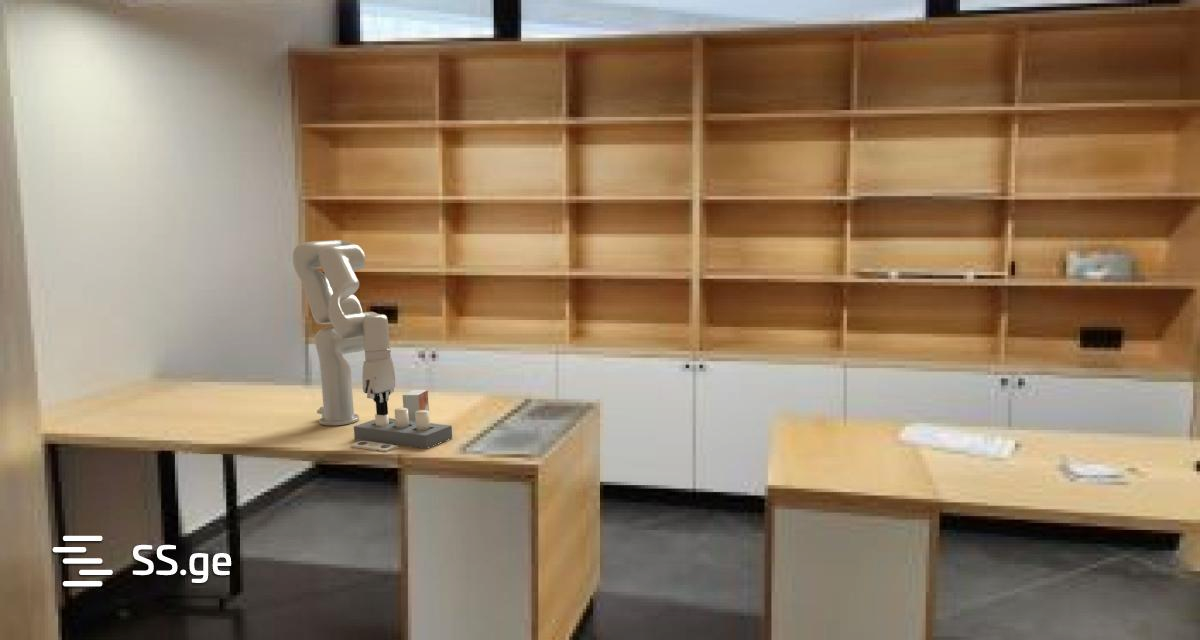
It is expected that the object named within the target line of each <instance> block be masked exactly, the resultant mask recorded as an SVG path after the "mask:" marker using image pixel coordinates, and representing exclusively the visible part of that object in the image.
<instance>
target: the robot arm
mask: <svg viewBox="0 0 1200 640" xmlns="http://www.w3.org/2000/svg"><path fill="white" fill-rule="evenodd" d="M292 263H293V267H294V268H293V269H294V270H295V272H296V275H297V277H298V278H299V281H300V282H301V285H303V288H304V291H305V295H306V297H307V301H308V306H309V309H310V312H311V314H312V318H313V320H314V322H315V323H316V324H318V325H330V324H331V326H327V327H323V328H320V329H319V330H318V331H317V332H316V334H315V336H314V344H315V349H316V352H317V356H318V361H319V362H318V363H319V369H320V377H321V380H320V381H321V393H322V403H323V404H322V405H323V406H320V407H319V408H318V409H317V410H316V414H319V415H321V418H320V419H319V424H320V425H322V426H328V427H330V426H333V427H334V426H335V427H336V426H344V425H349V424H353V423H357V422H358V421H359V420H360V416H359V414H357V413H355V408H354V398H353V397H354V396H353V383H352V382H353V380H352V369H351V368H352V367H351V366H350V364H349V363H348V361H347V360H346V359H345V358H344V356H343V355H346V354H352V353H358V352H363V351H364V357H365V358H364V359H365V360H364V361H363V364H362V392H363V393H364V394H367V395H366V398H367V399H372V400H373V402H374V403H375V410H376V412H375V413H376V414H377V415H385V414H388V415H389V410H388V409H389V408H388V407H389V406H388V401H389V399H390V396H391V394H392V393H394V391H395V387H396V374H395V373H396V372H395V367H394V363H393V360H392V357H391V356H392V355H391V353H392V351H391V344H390V333H389V331H390V329H389V320H388V317H387V315H386V314H383V313H381V314H380V313H377V312H374V311H366V312H364V311H363V309H362V305H361V302H360V300H359V299H358V298H357V296H356V295H355V293H356V292H357V291H358V289H360V281H359V279H358V277H357V275H356V273H355V271H360V270H362V269H364V267H365V265H366V255H365V252H364V250H363V249H362V248H361V246H360V245H358V244H355V243H353V242H350V241H346V240H345V239H344V240H343V239H332V240H330V239H329V240H316V241H315V240H314V241H305V242H303V243H300V244H298V245H296V246H295V247H294V250H293V251H292ZM318 268H321V269H322V271H323V272H322V271H321V270H319V269H318Z"/></svg>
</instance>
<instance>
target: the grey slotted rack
mask: <svg viewBox="0 0 1200 640" xmlns="http://www.w3.org/2000/svg"><path fill="white" fill-rule="evenodd" d="M353 435H354V436H353V437H354V440H358V441H369V442H376V443H383V444H391V445H394V444H396V445H398V446H401V445H403V446H402V447H409V446H412V447H411V448H416V447H421V448H420V449H423V448H428V447H430V448H432V447H431V446H433V445H435V444H438V443H440V442H443V441H445V442H447V441H446V440H448V439H450V440H452V439H453V426H452V425H449V424H448V425H447V424H441V423H431V422H430V429H429V430H427V431H417V430H416V421H409V427H407V428H404V429H401V428H396V425H395V418H390V417H389V424H388V425H385V426H376V423H375V419H373V420H369V421H366V422H363V423H360V424H357V425H354V426H353ZM451 438H452V439H451ZM448 441H449V440H448ZM443 443H444V442H443ZM440 444H441V443H440ZM438 445H439V444H438ZM435 446H436V445H435ZM433 447H434V446H433ZM428 449H429V448H428Z"/></svg>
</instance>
